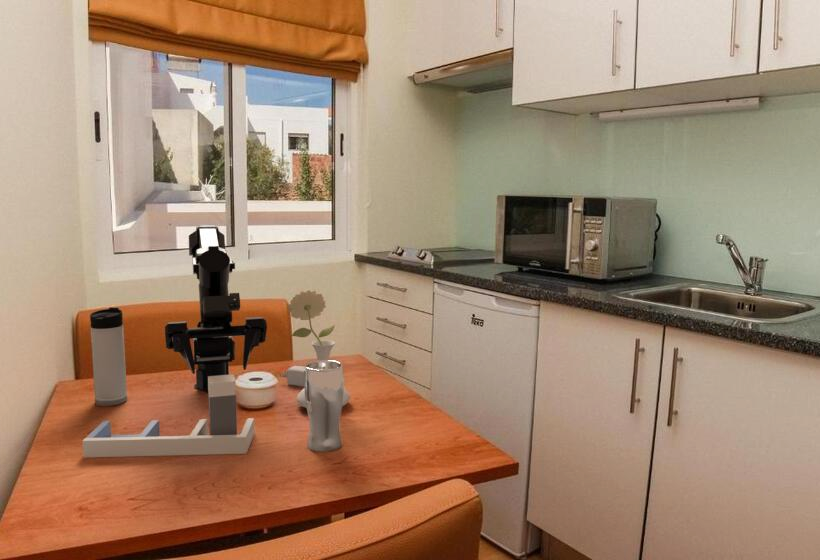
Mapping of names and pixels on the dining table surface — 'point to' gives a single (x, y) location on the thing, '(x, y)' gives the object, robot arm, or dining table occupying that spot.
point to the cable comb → (165, 442)
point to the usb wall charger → (295, 376)
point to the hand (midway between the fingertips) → (219, 370)
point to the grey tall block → (222, 405)
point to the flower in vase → (305, 309)
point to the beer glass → (324, 403)
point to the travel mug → (108, 357)
